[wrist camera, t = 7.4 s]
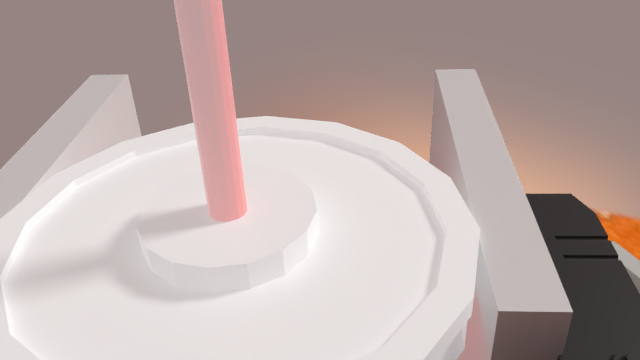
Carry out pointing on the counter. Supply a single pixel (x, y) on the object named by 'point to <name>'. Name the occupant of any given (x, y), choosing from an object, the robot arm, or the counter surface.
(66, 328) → the beverage cup
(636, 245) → the counter surface
